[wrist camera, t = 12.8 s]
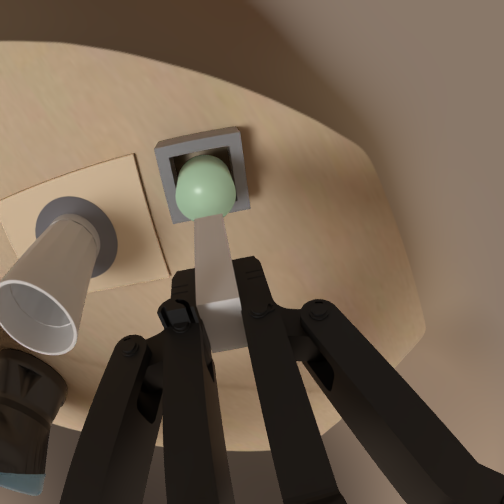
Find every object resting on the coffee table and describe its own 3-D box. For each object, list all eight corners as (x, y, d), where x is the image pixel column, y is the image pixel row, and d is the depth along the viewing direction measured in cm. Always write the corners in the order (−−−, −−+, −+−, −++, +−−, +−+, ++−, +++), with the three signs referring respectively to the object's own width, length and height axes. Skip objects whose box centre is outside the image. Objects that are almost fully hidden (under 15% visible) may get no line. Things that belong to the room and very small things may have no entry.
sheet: (43, 299, 31) (41, 301, 31) (-5, 202, 23) (-8, 204, 23) (169, 275, 33) (169, 278, 32) (133, 153, 25) (132, 154, 24)
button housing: (174, 210, 29) (173, 224, 26) (158, 141, 25) (154, 149, 22) (245, 196, 29) (250, 208, 27) (235, 126, 25) (240, 131, 23)
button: (184, 209, 25) (182, 228, 22) (172, 161, 23) (169, 174, 20) (234, 199, 26) (239, 216, 23) (226, 150, 23) (231, 161, 20)
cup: (33, 212, 25) (-24, 282, 15) (98, 200, 26) (52, 276, 16) (55, 274, 29) (19, 353, 19) (115, 268, 30) (91, 356, 20)
